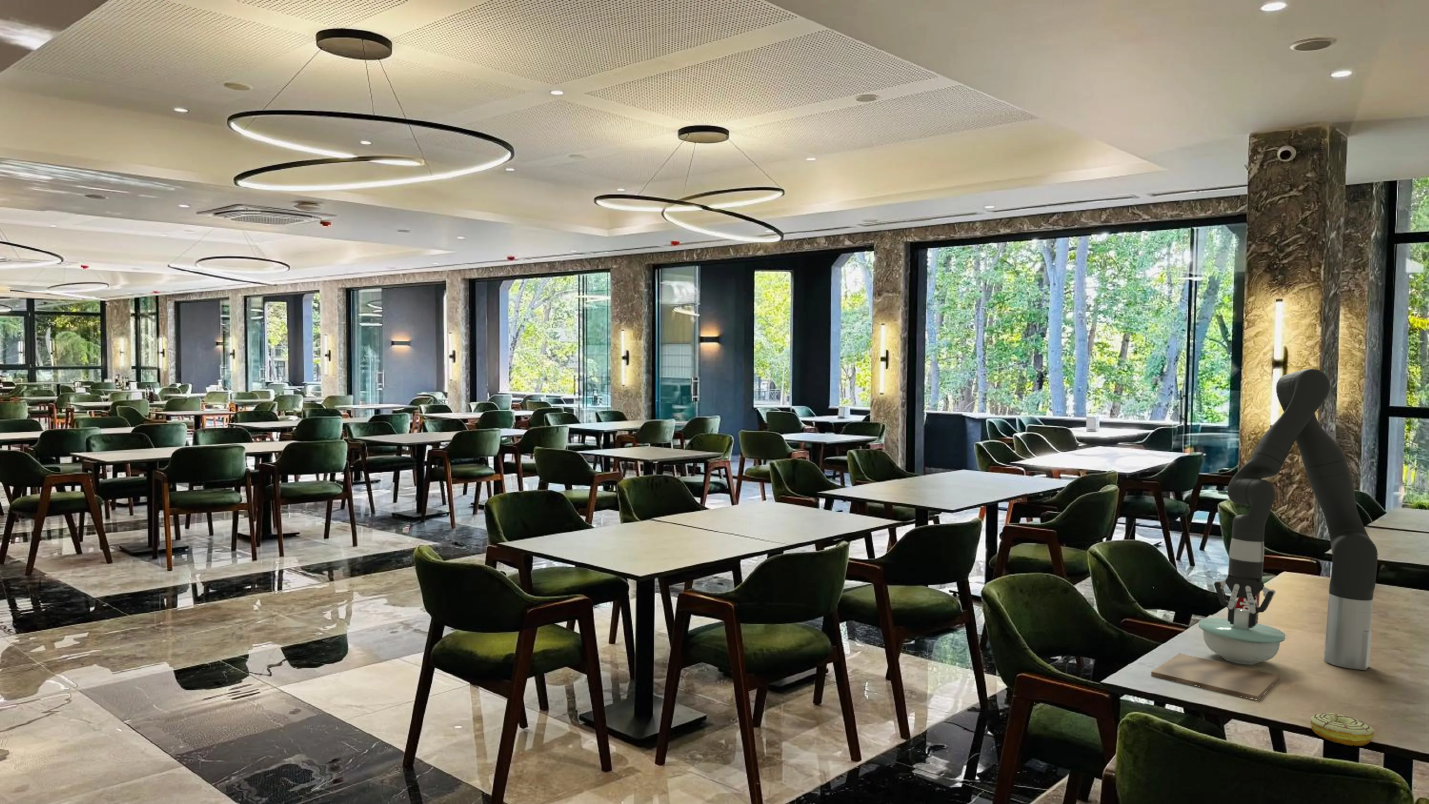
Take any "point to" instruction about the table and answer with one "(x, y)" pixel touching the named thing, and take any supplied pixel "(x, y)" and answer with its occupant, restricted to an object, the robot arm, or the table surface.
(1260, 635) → the lid
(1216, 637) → the cereal bowl
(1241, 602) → the soda can
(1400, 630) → the table surface
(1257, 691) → the board
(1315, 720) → the decorated donut
